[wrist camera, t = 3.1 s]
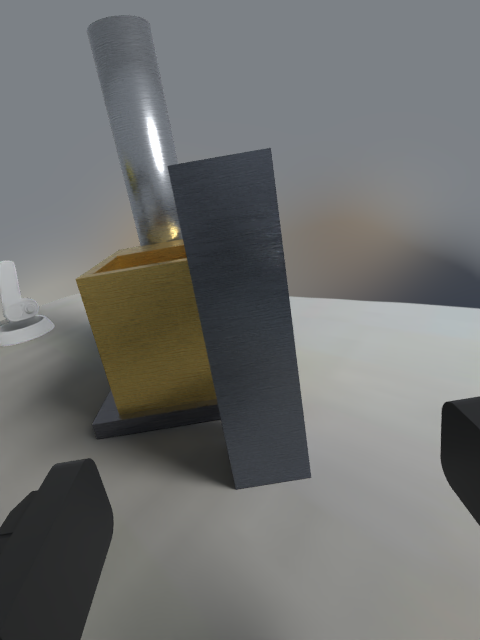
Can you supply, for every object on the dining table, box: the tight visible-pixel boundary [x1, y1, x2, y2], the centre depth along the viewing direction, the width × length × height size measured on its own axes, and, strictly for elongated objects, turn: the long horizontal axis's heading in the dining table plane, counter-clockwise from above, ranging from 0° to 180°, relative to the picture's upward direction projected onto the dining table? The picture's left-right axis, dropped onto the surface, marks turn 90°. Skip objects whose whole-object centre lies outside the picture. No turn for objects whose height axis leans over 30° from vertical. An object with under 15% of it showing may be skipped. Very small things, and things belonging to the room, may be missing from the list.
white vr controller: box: [0, 261, 55, 346], centre depth 53 cm, size 8×12×7 cm
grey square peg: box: [167, 148, 311, 489], centre depth 19 cm, size 4×4×16 cm
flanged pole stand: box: [76, 15, 221, 439], centre depth 31 cm, size 19×11×27 cm, turn 3°
